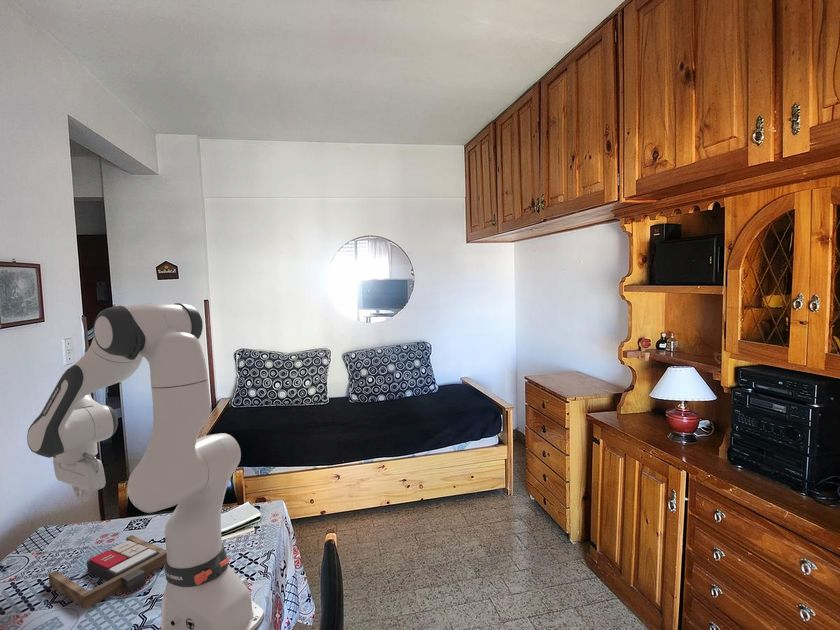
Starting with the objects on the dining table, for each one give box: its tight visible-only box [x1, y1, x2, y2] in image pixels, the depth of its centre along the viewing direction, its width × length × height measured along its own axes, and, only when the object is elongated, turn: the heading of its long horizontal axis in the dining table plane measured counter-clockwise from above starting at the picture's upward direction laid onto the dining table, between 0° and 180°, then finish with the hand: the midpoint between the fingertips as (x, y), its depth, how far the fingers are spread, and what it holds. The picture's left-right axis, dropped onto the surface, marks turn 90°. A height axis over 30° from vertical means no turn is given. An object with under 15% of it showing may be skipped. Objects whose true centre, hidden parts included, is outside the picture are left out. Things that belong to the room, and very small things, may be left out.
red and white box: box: [86, 540, 159, 582], centre depth 121 cm, size 11×4×15 cm
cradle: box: [48, 534, 167, 610], centre depth 117 cm, size 22×20×3 cm
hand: (82, 500), depth 124 cm, fingers closed
